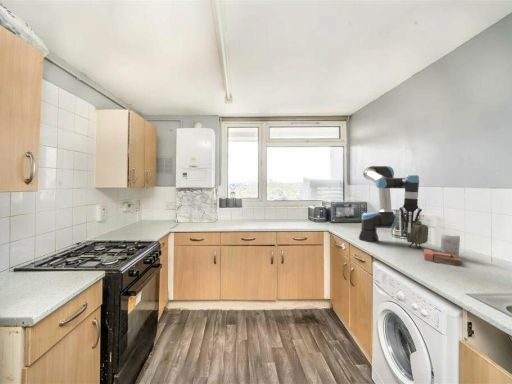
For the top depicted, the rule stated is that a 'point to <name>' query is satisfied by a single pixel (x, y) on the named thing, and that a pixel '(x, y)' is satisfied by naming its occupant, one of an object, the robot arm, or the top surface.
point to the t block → (429, 254)
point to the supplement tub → (450, 243)
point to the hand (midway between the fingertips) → (409, 232)
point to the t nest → (448, 259)
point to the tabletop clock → (418, 233)
